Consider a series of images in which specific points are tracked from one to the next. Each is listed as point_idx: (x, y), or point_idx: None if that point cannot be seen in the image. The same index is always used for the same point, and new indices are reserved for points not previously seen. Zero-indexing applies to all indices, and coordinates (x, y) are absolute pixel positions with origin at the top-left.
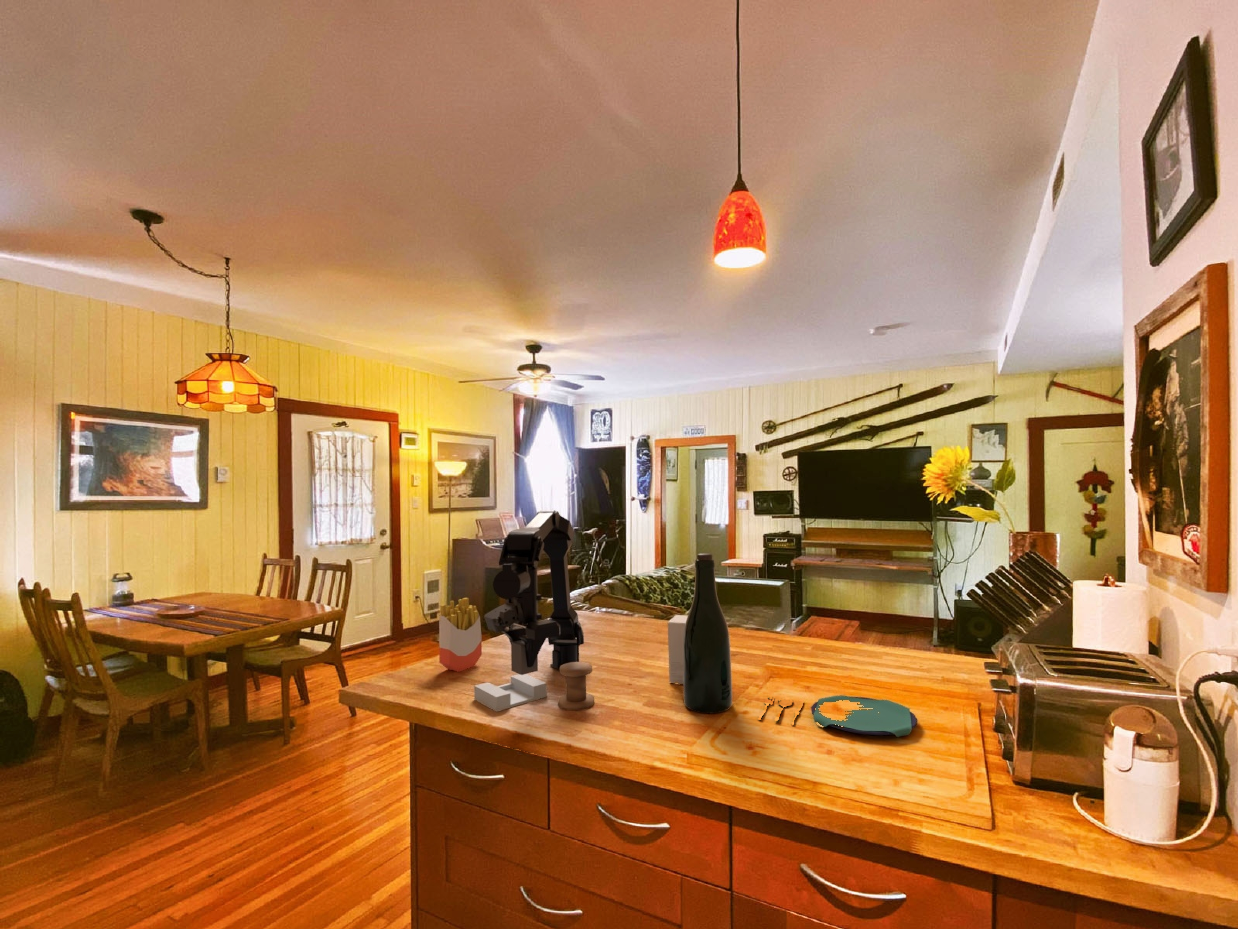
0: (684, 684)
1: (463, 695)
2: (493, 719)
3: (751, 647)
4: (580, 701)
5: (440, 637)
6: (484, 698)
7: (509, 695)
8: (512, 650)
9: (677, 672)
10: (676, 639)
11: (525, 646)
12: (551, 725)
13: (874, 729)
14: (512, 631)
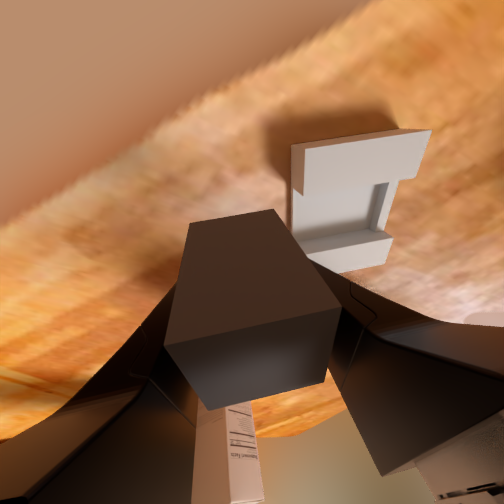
0: None
1: (446, 114)
2: (251, 114)
3: (264, 434)
4: None
5: None
6: (360, 137)
7: (301, 191)
8: (294, 266)
9: None
10: (216, 467)
11: (146, 361)
12: (144, 222)
13: None
14: (439, 419)
